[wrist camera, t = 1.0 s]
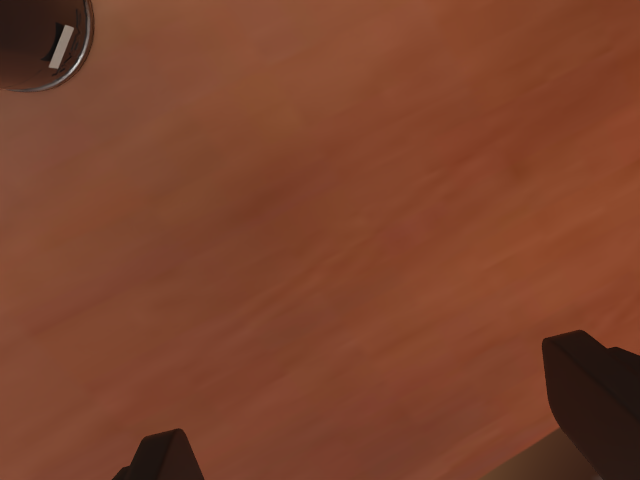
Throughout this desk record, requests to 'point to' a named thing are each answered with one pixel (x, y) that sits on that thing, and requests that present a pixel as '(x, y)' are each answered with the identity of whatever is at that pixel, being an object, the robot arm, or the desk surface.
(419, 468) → the desk surface
